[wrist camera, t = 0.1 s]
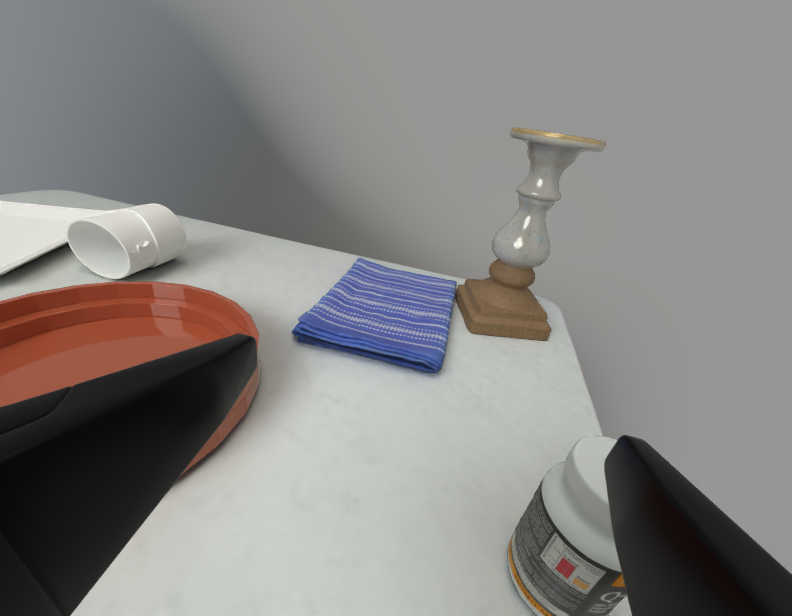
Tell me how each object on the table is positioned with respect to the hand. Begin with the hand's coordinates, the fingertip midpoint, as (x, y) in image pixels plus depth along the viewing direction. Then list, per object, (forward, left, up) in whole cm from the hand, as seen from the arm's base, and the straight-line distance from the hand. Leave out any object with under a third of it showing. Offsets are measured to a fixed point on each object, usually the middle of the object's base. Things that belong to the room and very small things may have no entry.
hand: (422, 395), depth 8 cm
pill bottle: (+7, -10, -18) cm, 21 cm away
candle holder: (+40, -8, -18) cm, 44 cm away
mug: (+30, +43, -18) cm, 55 cm away
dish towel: (+34, +7, -18) cm, 39 cm away
